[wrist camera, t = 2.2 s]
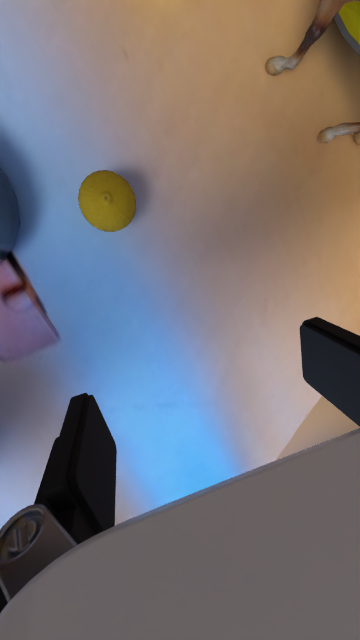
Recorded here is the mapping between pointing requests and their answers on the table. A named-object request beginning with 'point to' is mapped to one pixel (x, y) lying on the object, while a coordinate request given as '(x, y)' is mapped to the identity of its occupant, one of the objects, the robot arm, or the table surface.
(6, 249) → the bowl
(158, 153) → the table surface
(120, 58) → the table surface
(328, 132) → the horse figurine
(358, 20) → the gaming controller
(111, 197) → the lemon
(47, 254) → the table surface
